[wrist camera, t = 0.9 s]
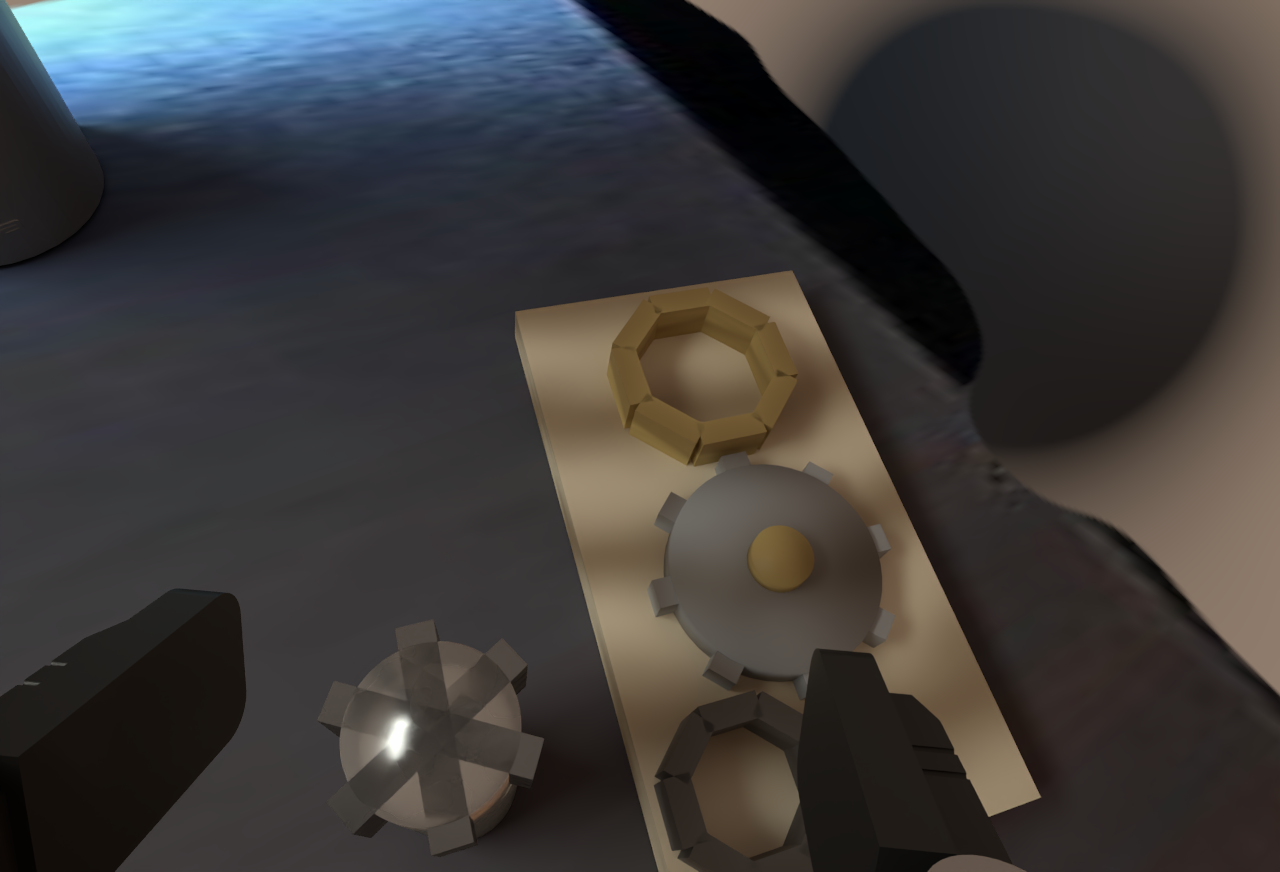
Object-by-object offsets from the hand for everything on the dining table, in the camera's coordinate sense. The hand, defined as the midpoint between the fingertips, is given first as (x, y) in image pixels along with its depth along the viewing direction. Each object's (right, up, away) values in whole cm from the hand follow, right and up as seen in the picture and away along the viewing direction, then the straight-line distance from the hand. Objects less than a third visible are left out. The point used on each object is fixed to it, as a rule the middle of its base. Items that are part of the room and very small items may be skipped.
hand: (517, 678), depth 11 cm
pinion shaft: (-5, -9, +17) cm, 20 cm away
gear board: (+6, -1, +23) cm, 24 cm away
